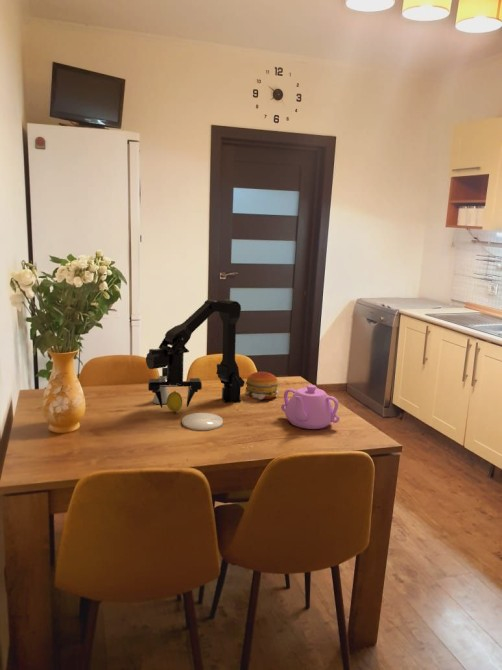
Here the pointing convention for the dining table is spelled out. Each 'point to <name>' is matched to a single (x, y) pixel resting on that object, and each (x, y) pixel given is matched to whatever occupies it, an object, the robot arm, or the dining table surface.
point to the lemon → (174, 401)
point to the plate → (202, 421)
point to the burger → (262, 385)
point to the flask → (162, 392)
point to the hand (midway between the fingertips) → (174, 407)
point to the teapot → (310, 408)
